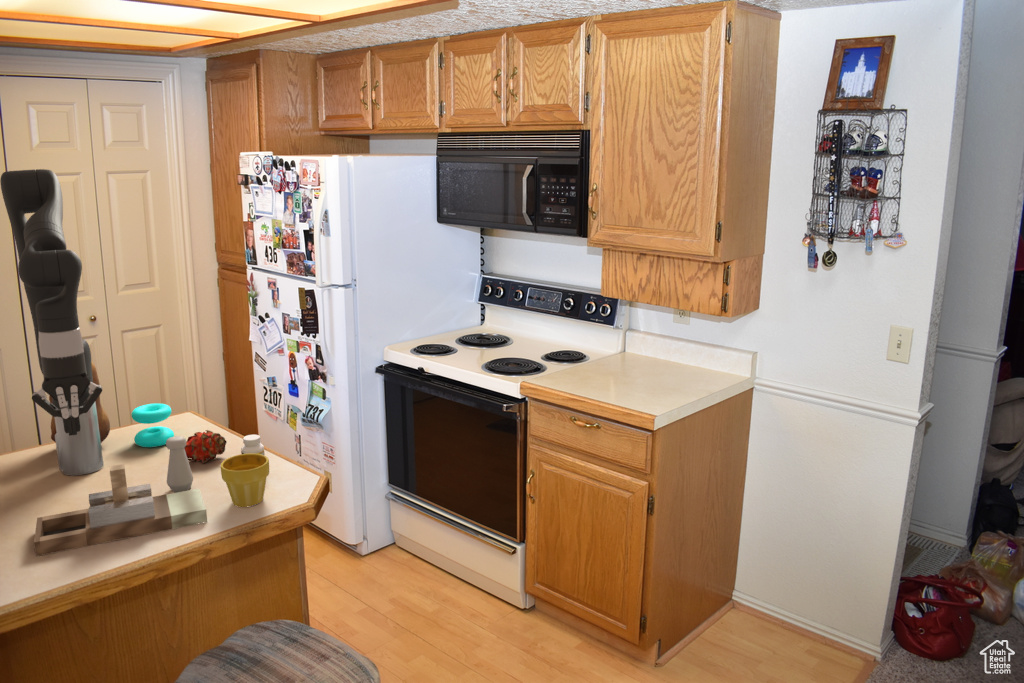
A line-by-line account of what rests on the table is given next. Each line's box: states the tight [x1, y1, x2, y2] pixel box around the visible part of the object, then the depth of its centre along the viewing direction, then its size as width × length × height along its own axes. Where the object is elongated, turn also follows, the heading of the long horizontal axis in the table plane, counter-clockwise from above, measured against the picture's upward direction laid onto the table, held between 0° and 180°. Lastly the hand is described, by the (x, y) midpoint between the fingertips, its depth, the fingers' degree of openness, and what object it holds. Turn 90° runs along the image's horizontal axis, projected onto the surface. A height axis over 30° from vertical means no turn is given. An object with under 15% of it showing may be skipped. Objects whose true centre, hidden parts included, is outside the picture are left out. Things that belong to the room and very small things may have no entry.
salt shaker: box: [165, 435, 194, 493], centre depth 184 cm, size 6×6×13 cm
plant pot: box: [220, 453, 270, 508], centre depth 179 cm, size 10×10×10 cm
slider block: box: [105, 463, 137, 504], centre depth 166 cm, size 6×6×10 cm
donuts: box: [130, 403, 175, 448], centre depth 214 cm, size 10×10×10 cm
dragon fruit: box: [184, 429, 228, 464], centre depth 203 cm, size 8×8×12 cm
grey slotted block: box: [88, 483, 155, 529], centre depth 166 cm, size 12×10×4 cm
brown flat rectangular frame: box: [33, 488, 208, 557], centre depth 167 cm, size 32×12×3 cm, turn 118°
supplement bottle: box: [240, 434, 266, 456], centre depth 194 cm, size 5×5×10 cm
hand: (73, 433), depth 159 cm, fingers closed
